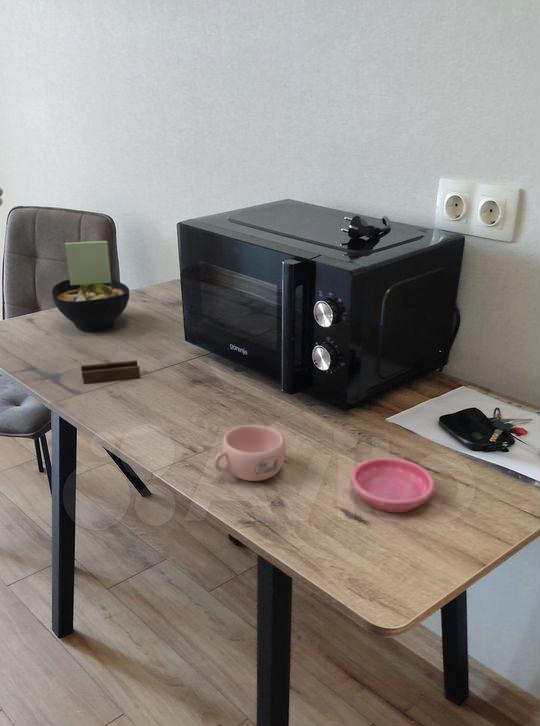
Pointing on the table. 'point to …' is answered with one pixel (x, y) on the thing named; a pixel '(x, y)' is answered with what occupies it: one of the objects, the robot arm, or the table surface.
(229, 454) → the mug
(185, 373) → the table surface
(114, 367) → the rack
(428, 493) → the saucer
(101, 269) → the green square tile
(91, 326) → the bowl
